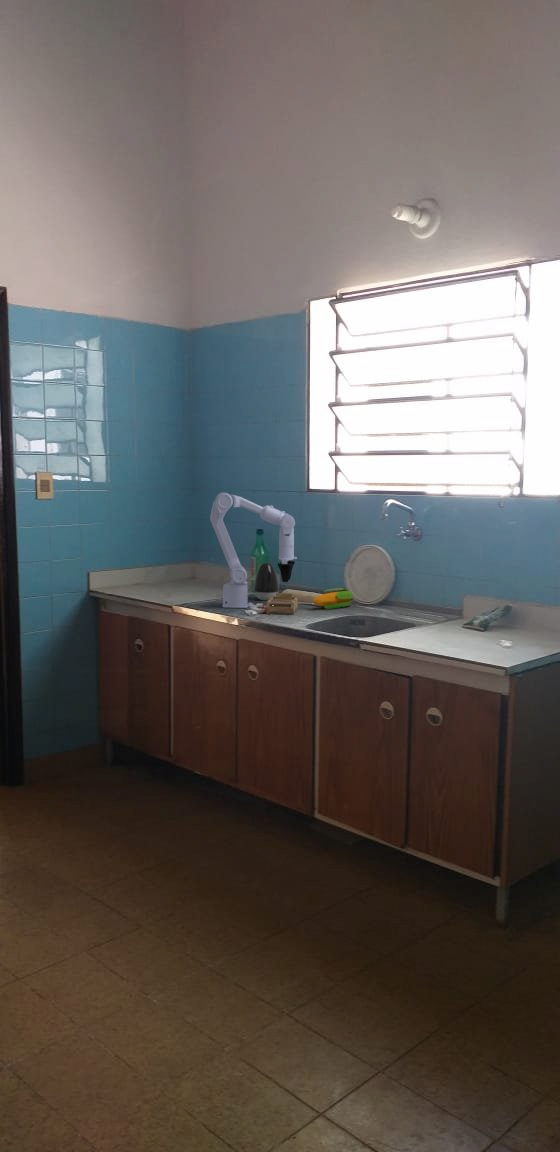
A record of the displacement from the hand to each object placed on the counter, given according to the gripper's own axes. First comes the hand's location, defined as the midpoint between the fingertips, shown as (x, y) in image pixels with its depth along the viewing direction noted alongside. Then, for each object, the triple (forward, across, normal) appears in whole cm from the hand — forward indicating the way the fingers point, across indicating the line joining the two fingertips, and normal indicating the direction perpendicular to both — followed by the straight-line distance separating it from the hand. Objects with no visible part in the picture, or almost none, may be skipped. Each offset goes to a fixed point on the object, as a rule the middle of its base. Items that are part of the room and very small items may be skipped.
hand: (286, 580), depth 353 cm
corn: (+10, -1, -18) cm, 21 cm away
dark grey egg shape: (+10, +17, +10) cm, 22 cm away
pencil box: (+10, -12, 0) cm, 16 cm away
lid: (+7, -12, 0) cm, 14 cm away
